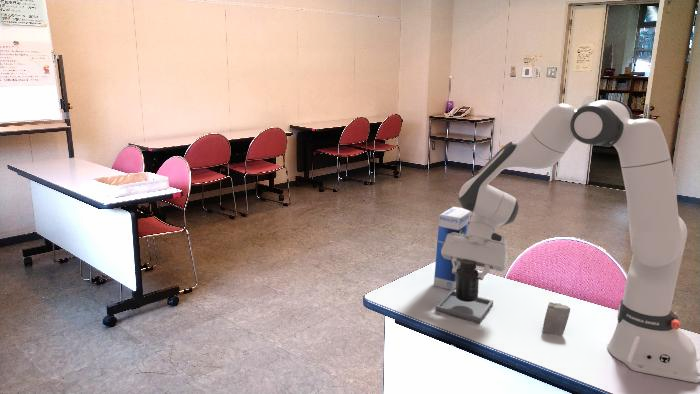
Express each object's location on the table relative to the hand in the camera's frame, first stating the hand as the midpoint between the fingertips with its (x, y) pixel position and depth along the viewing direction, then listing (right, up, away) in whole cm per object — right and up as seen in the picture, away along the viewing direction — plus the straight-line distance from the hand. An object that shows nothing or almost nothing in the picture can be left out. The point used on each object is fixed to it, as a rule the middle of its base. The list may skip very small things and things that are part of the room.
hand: (467, 276), depth 161 cm
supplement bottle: (0, -7, +2) cm, 8 cm away
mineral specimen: (+23, -15, -7) cm, 29 cm away
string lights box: (-1, -6, +23) cm, 24 cm away
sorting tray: (0, -11, +3) cm, 11 cm away
